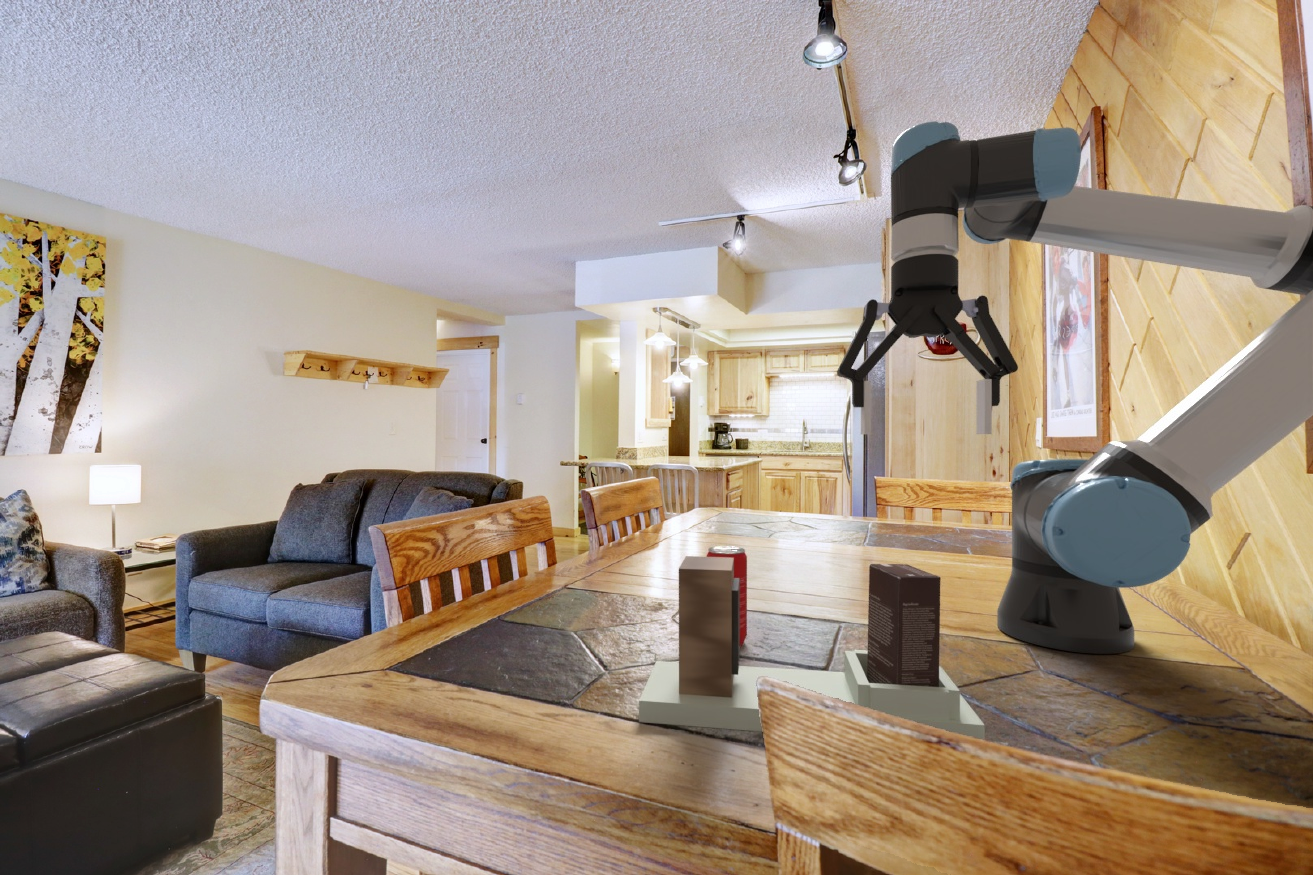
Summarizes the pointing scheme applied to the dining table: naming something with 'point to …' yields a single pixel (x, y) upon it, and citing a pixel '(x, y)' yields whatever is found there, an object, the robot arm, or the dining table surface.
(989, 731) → the dining table surface
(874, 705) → the pale green holder tray
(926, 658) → the box
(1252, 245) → the robot arm
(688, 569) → the brown tall rectangular block
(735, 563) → the beverage can
